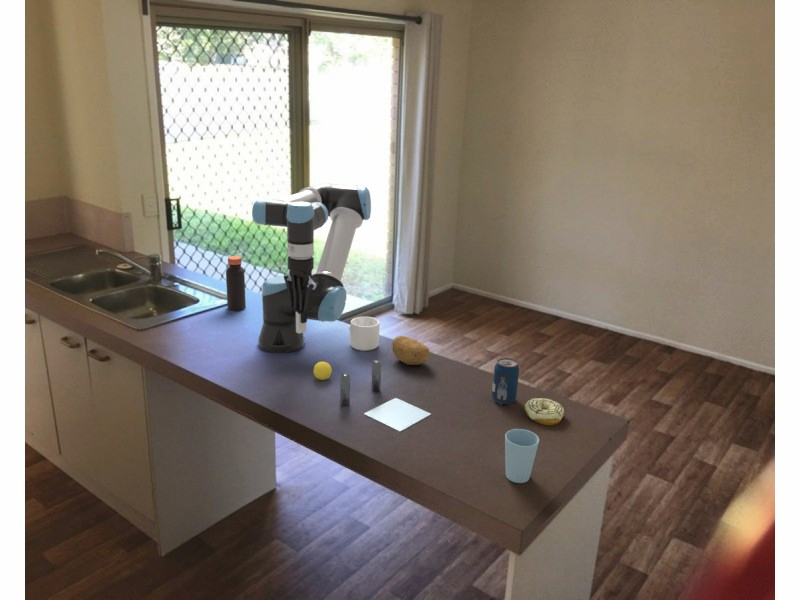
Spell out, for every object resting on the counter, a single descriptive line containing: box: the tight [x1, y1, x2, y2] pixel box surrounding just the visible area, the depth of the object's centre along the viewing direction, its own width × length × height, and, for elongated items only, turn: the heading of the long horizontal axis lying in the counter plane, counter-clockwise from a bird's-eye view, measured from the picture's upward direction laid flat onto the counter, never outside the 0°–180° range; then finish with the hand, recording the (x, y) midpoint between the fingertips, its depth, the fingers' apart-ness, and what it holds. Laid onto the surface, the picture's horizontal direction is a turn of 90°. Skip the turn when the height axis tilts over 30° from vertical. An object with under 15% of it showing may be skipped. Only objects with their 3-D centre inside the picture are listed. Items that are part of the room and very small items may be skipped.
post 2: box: [370, 359, 382, 393], centre depth 189 cm, size 3×3×9 cm
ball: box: [312, 361, 333, 381], centre depth 195 cm, size 6×6×6 cm
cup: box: [504, 428, 540, 484], centre depth 151 cm, size 8×8×10 cm
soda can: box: [491, 357, 520, 405], centre depth 186 cm, size 7×7×12 cm
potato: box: [391, 335, 431, 366], centre depth 208 cm, size 10×14×8 cm
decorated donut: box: [524, 397, 565, 426], centre depth 180 cm, size 10×11×4 cm
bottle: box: [225, 255, 247, 312], centre depth 247 cm, size 7×7×20 cm
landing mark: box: [363, 397, 432, 433], centre depth 178 cm, size 13×13×1 cm
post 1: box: [339, 372, 351, 408], centre depth 180 cm, size 3×3×9 cm
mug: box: [348, 316, 381, 352], centre depth 220 cm, size 12×10×9 cm
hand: (301, 331), depth 197 cm, fingers closed
